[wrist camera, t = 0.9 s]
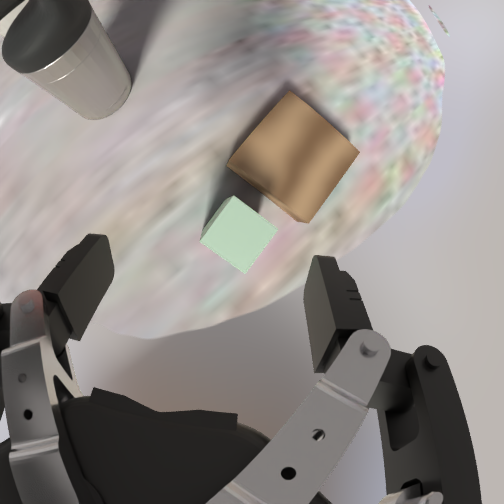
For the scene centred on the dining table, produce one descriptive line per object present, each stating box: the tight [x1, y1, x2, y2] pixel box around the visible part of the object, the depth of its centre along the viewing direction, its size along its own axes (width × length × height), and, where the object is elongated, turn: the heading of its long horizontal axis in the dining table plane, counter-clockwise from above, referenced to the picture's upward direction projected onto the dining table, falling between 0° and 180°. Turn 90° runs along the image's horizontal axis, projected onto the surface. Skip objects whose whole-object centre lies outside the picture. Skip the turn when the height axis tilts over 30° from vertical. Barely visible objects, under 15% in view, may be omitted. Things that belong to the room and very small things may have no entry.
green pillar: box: [200, 196, 278, 274], centre depth 31 cm, size 5×5×12 cm
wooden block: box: [226, 90, 360, 223], centre depth 34 cm, size 12×12×5 cm
